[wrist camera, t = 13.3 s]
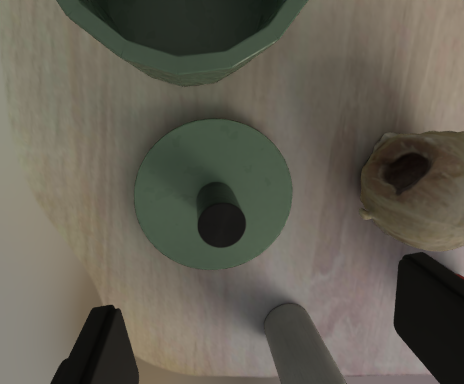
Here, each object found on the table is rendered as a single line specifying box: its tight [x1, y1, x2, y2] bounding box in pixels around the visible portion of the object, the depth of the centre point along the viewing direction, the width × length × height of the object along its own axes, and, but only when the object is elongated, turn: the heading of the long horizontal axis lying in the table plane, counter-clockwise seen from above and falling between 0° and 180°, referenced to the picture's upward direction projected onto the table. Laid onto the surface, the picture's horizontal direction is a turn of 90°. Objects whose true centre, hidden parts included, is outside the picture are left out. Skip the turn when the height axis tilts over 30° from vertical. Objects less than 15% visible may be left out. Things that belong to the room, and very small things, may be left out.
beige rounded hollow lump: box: [359, 131, 464, 251], centre depth 21 cm, size 9×8×10 cm
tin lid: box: [134, 118, 292, 270], centre depth 21 cm, size 12×12×6 cm
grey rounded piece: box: [264, 304, 347, 384], centre depth 23 cm, size 4×4×10 cm
